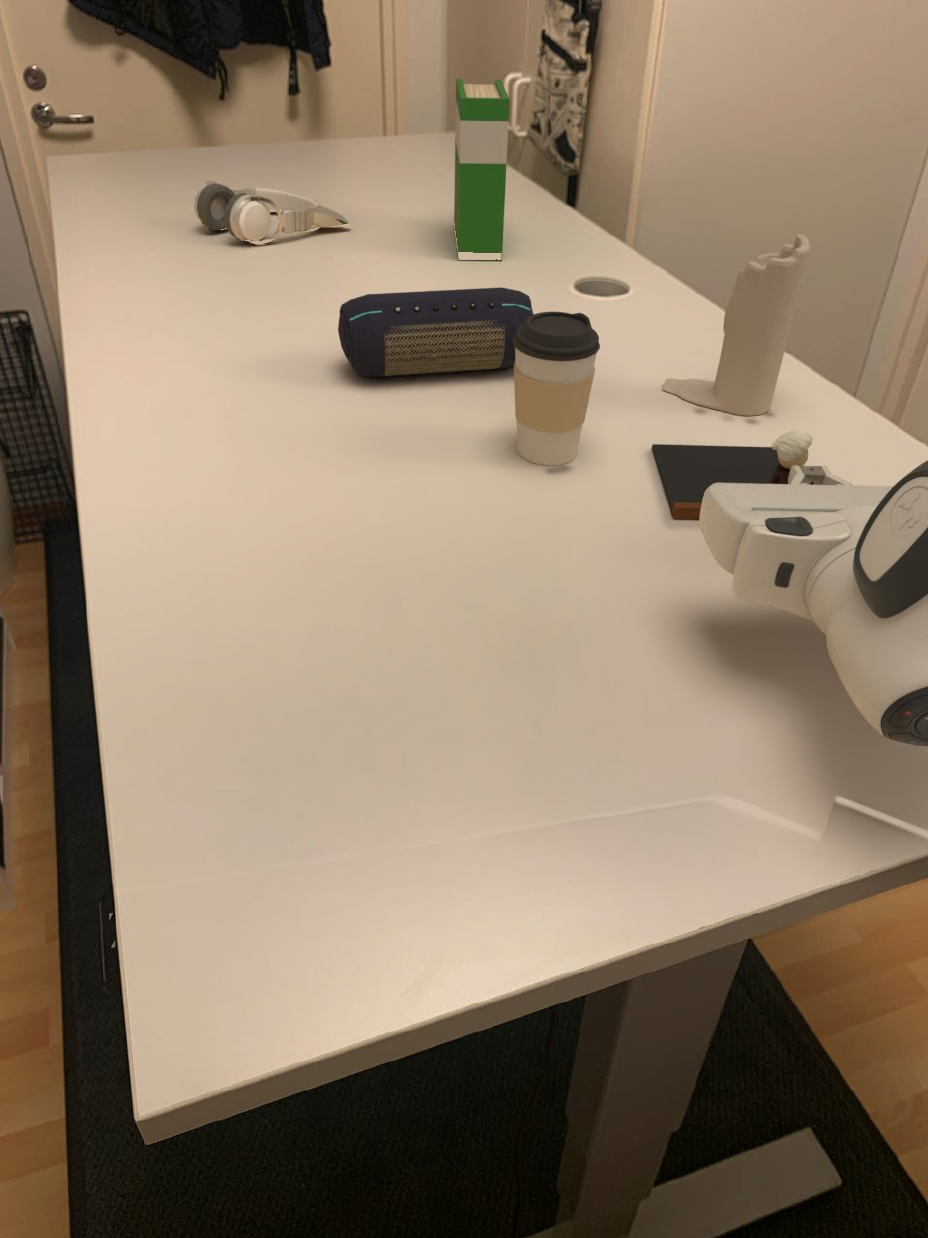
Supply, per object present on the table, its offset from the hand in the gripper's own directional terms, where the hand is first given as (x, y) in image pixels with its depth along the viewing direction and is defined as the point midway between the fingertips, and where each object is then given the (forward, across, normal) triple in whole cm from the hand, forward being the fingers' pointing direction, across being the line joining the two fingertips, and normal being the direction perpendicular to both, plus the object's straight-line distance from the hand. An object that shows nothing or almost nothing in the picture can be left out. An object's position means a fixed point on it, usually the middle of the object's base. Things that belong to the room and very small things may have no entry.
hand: (806, 472), depth 78 cm
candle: (+38, -2, +11) cm, 40 cm away
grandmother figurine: (+4, 0, +11) cm, 12 cm away
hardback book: (+97, +28, +11) cm, 102 cm away
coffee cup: (+23, +20, +11) cm, 32 cm away
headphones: (+103, +66, +11) cm, 123 cm away
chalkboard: (+17, 0, +11) cm, 20 cm away
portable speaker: (+44, +33, +11) cm, 56 cm away
